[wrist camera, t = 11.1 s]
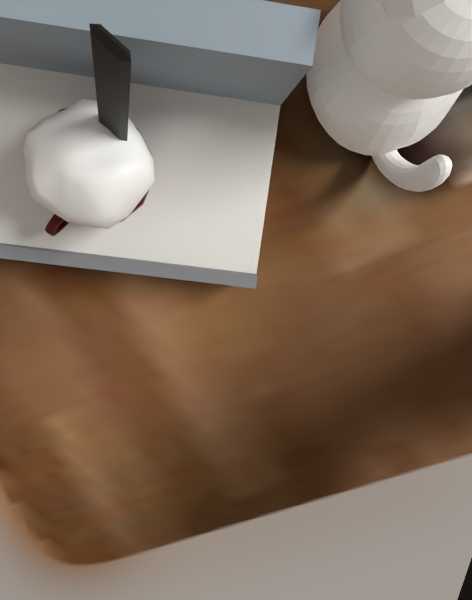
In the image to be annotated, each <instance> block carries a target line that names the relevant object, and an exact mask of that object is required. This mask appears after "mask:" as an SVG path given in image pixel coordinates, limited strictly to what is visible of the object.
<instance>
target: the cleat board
mask: <svg viewBox="0 0 472 600" xmlns="http://www.w3.org/2000/svg"><path fill="white" fill-rule="evenodd" d="M320 13H321V10H318V9H312V8H306V7H300V6H294V5H288V4H282V3H276V2H270V1H264V0H0V258H2V259H10V260H19V261H27V262H36V263H44V264H53V265H61V266H69V267H78V268H86V269H95V270H103V271H112V272H120V273H128V274H137V275H145V276H154V277H162V278H170V279H179V280H187V281H196V282H204V283H213V284H221V285H229V286H238V287H246V288H255V289H256V283H257V274H256V272H257V265H258V258H259V251H260V245H261V238H262V231H263V224H264V217H265V210H266V203H267V196H268V189H269V182H270V175H271V168H272V161H273V154H274V147H275V140H276V133H277V126H278V119H279V112H280V105H281V104H282V103H283V102H284V100H285V99H286V98H287V97H288V95H289V94H290V93H291V92H292V90H293V89H294V88H295V87H296V85H297V84H298V83H299V82H300V81H301V79H302V78H303V77H304V76H305V74H306V73H307V72H308V71H309V69H310V68H311V67H312V64H313V58H314V51H315V45H316V39H317V32H318V26H319V19H320ZM89 23H91V24H101V25H102V26H103V27H104V28H105V29H107V30H108V31H109V32H110V33H111V34H112V35H113V36H114V37H115V38H117V39H118V40H119V41H120V42H121V43H122V44H123V45H124V46H125V47H127V48H128V49H129V50H130V54H131V78H130V97H129V117H128V118H129V119H130V120H131V122H132V123H133V124H134V126H135V127H136V128H138V130H139V131H140V133H141V135H142V137H143V139H144V141H145V143H146V145H147V147H148V148H149V150H150V152H151V154H152V158H153V160H154V174H155V183H154V184H153V185H152V186H151V188H150V189H149V192H148V194H147V196H146V199H145V201H144V203H143V205H142V206H140V207H139V208H138V209H137V210H136V211H135V212H133V213H132V214H131V215H130V216H129V217H127V218H126V219H125V220H124V221H122V222H119V223H117V224H116V225H114V226H113V227H111V228H110V229H104V228H95V227H91V226H84V225H80V224H75V223H71V222H70V223H69V224H68V225H67V226H66V227H65V228H63V229H62V230H61V231H60V232H59V233H58V234H56V235H55V236H52V235H50V234H48V233H47V232H46V231H45V228H46V226H47V224H48V222H49V221H50V219H51V218H52V217H53V215H54V213H53V212H51V211H50V210H48V209H47V208H45V207H44V206H43V205H41V204H40V203H38V202H37V201H35V200H34V199H33V198H32V196H31V193H30V190H29V187H28V184H27V181H26V164H25V156H24V153H23V149H24V144H25V139H26V133H27V131H29V130H30V129H31V128H32V127H33V126H35V125H36V124H37V123H38V122H40V121H41V120H42V119H43V118H45V117H47V116H50V115H52V114H55V113H57V112H58V111H59V110H60V109H64V108H68V107H70V106H72V105H73V104H75V103H76V102H78V101H80V100H81V99H83V98H84V99H89V100H93V101H97V97H96V87H95V77H94V66H93V56H92V46H91V36H90V26H89Z"/></svg>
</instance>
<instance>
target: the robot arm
mask: <svg viewBox="0 0 472 600" xmlns="http://www.w3.org/2000/svg"><path fill="white" fill-rule="evenodd" d="M458 600H472V559H471V562H470V565H469V568H468V571H467V573H466V576H465V580H464V582H463V586H462V588H461V591H460V594H459V597H458Z"/></svg>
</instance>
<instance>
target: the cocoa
mask: <svg viewBox="0 0 472 600" xmlns="http://www.w3.org/2000/svg"><path fill="white" fill-rule="evenodd" d="M89 26H90V36H91V46H92V56H93V66H94V77H95V87H96V97H97V101H93V100H89V99H84V98H83V99H81V100H80V101H78V102H76V103H75V104H73V105H72V106H70V107H68V108H64V109H60V110H59V111H58V112H57V113H55V114H52V115H50V116H47V117H45V118H43V119H42V120H41V121H40V122H38V123H37V124H36V125H35V126H33V127H32V128H31V129H30V130H29V131H27V133H26V139H25V144H24V149H23V153H24V156H25V164H26V181H27V184H28V187H29V190H30V193H31V196H32V198H33V199H34V200H35V201H37V202H38V203H40V204H41V205H43V206H44V207H45V208H47V209H48V210H50V211H51V212H53V213H54V215H53V217H52V218H51V219H50V221H49V222H48V224H47V226H46V228H45V231H46V232H47V233H48V234H50V235H52V236H55V235H56V234H58V233H59V232H60V231H61V230H62V229H63V228H65V227H66V226H67V225H68V224H69V223H70V222H71V223H75V224H80V225H84V226H91V227H95V228H104V229H110V228H111V227H113V226H114V225H116V224H117V223H119V222H122V221H124V220H125V219H126V218H127V217H129V216H130V215H131V214H132V213H133V212H135V211H136V210H137V209H138V208H139V207H140V206H142V205H143V203H144V201H145V199H146V196H147V194H148V192H149V189H150V188H151V186H152V185H153V184H154V183H155V174H154V160H153V158H152V154H151V152H150V150H149V148H148V147H147V145H146V143H145V141H144V139H143V137H142V135H141V133H140V131H139V130H138V128H136V127H135V126H134V124H133V123H132V122H131V120H130V119H129V118H128V117H129V97H130V78H131V54H130V50H129V49H128V48H127V47H125V46H124V45H123V44H122V43H121V42H120V41H119V40H118V39H117V38H115V37H114V36H113V35H112V34H111V33H110V32H109V31H108V30H107V29H105V28H104V27H103V26H102V25H101V24H91V23H89Z"/></svg>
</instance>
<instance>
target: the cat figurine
mask: <svg viewBox="0 0 472 600" xmlns="http://www.w3.org/2000/svg"><path fill="white" fill-rule="evenodd" d="M306 79H307V90H308V94H309V98H310V102H311V105H312V107H313V109H314V112H315V114H316V116H317V118H318V121H319V122H320V123H321V125H322V126H323V128H324V129H325V130H326V132H327V133H328V134H329V135H330V136H331V137H332V138H333V139H334V140H335V141H336V142H337V143H338V144H340V145H341V146H343V147H345V148H346V149H348V150H350V151H354V152H357V153H360V154H362V155H371V156H372V158H373V160H374V162H375V164H376V165H377V167H378V169H379V170H380V171H381V172H382V174H383V175H384V176H385V177H386V178H387V179H389V180H390V181H391V182H392V183H394V184H395V185H397V186H398V187H401V188H403V189H406V190H410V191H417V192H421V191H426V190H431V189H433V188H435V187H437V186H438V185H440V184H442V183H443V182H444V181H445V180H446V179H447V177H448V176H449V175H450V172H451V168H452V161H451V160H450V158H449V157H447V156H445V155H437V156H434V157H432V158H430V159H429V160H427V161H426V162H424V163H422V164H421V165H419V166H418V165H414V164H411V163H410V162H408V161H406V160H405V159H404V158H403V157H401V155H400V154H399V153H398V151H397V149H399V148H403V147H406V146H409V145H411V144H414V143H416V142H418V141H420V140H421V139H422V138H424V137H425V136H427V135H428V134H429V133H430V132H431V131H433V130H434V129H435V128H436V127H437V126H438V125H439V123H440V122H441V121H442V120H443V118H444V117H445V116H446V114H447V113H448V111H449V110H450V108H451V107H452V105H453V104H454V102H455V101H456V99H457V98H458V96H459V95H460V93H461V92H462V90H463V89H464V88H466V87H468V86H470V85H472V0H340V1H339V2H338V3H337V4H336V6H335V7H334V8H333V9H332V10H331V11H330V12H329V14H328V15H327V16H326V17H325V18H324V20H323V21H322V23H321V25H320V26H319V28H318V32H317V39H316V45H315V51H314V58H313V64H312V67H311V68H310V69H309V71H308V72H307V73H306Z"/></svg>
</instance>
